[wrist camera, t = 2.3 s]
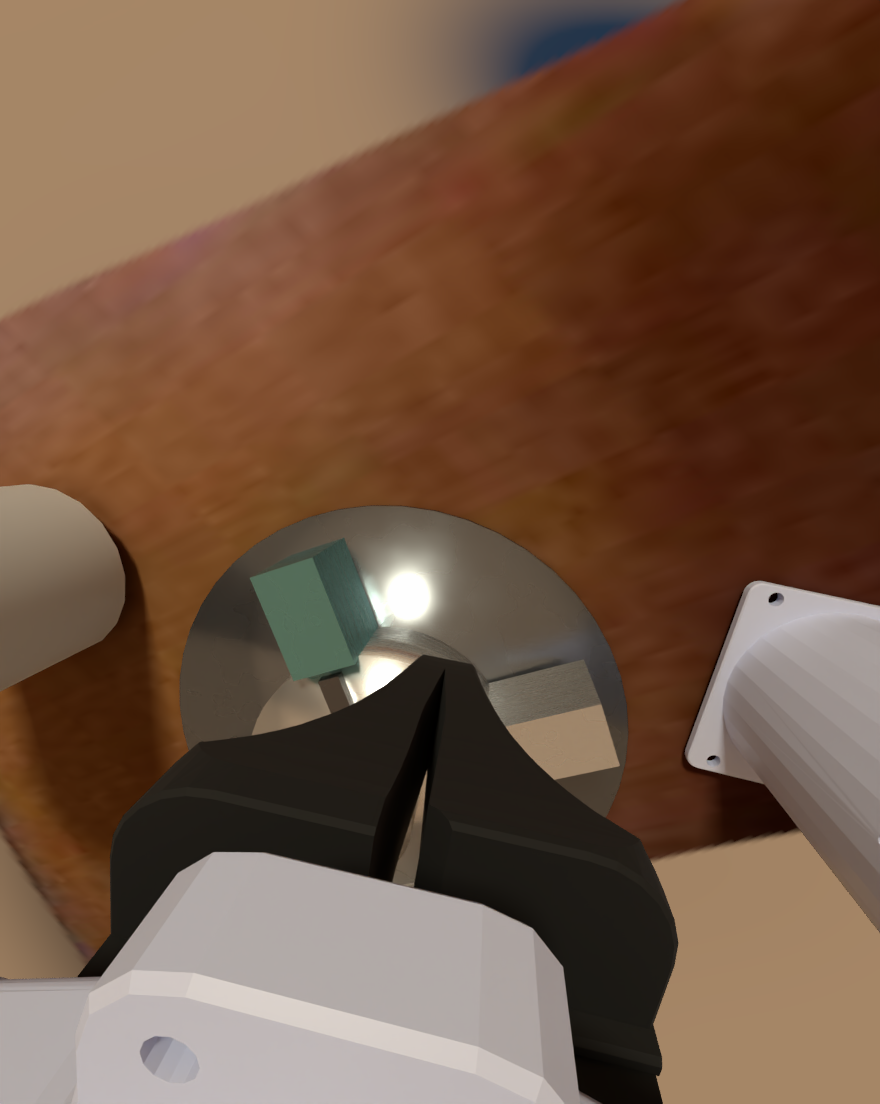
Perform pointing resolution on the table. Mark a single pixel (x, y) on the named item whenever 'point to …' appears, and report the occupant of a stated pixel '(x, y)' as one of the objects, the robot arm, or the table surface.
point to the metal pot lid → (384, 652)
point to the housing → (404, 620)
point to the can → (52, 580)
